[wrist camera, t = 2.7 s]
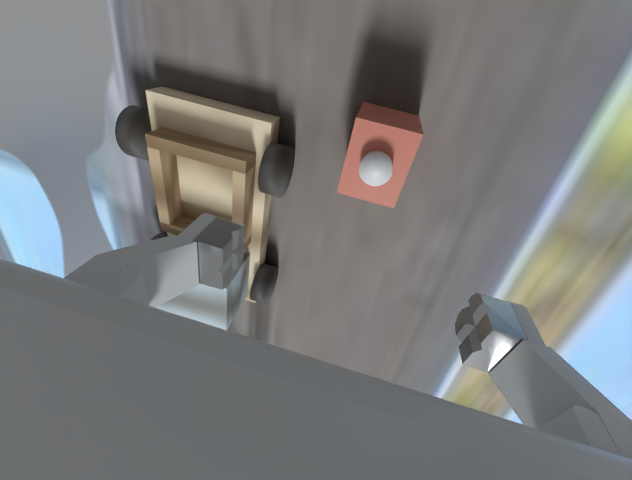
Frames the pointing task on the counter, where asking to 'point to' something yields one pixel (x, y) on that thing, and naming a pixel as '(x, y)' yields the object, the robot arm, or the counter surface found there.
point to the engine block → (380, 154)
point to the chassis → (211, 184)
